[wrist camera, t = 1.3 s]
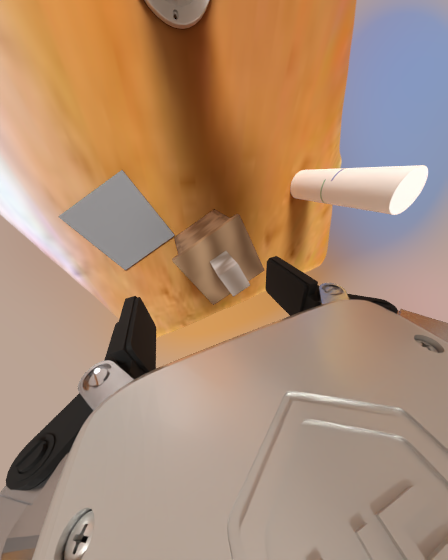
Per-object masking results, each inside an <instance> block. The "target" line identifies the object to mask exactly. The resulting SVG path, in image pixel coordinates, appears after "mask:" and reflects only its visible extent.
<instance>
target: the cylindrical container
mask: <svg viewBox="0 0 448 560" xmlns="http://www.w3.org/2000/svg"><path fill="white" fill-rule="evenodd" d="M427 176H428V169H427V167H426V166H424V165H421V166H394V167H368V168H343V169H316V170H302V171H300V172H298V173H297V174H296V175H295V176H294V178H293V180H292V182H291V187H290V191H291V195H292V196H293V197H294V198H296V199H302V200H308V201H314V202H320V203H326V204H332V205H338V206H344V207H351V208H356V209H363V210H369V211H375V212H381V213H387V214H393V215H396V214H399V213H401V212H403V211H404V210H405V209H407V208H408V207H409V206H410V205H411V204H412V203H413V201H414V200H415V199H416V198H417V197H418V195H419V194H420V192H421V190H422V189H423V187H424V185H425V182H426V180H427Z"/></svg>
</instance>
